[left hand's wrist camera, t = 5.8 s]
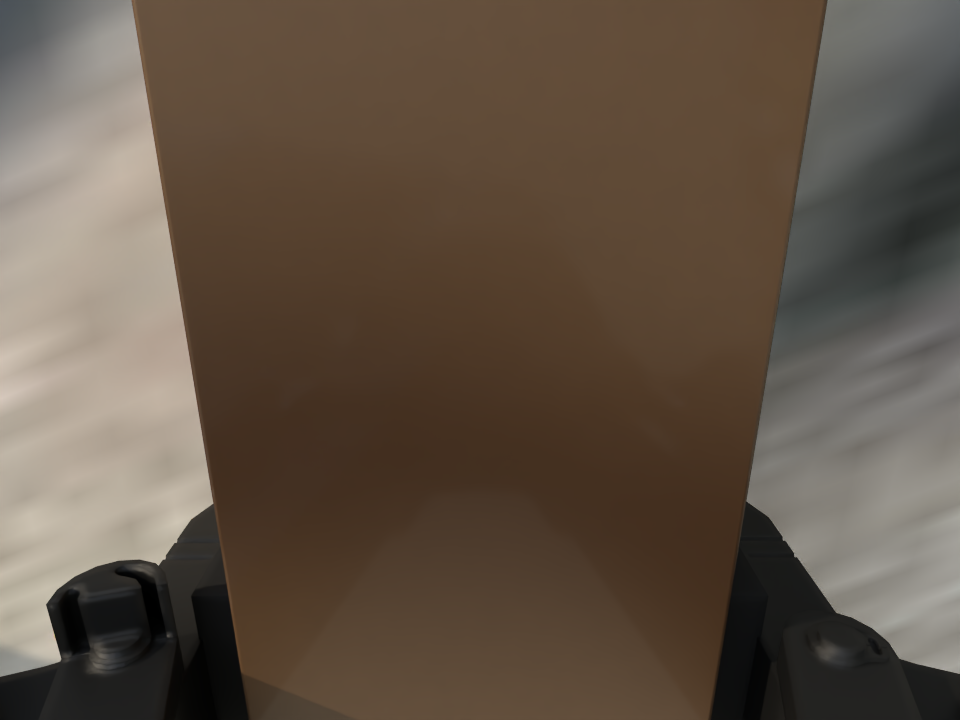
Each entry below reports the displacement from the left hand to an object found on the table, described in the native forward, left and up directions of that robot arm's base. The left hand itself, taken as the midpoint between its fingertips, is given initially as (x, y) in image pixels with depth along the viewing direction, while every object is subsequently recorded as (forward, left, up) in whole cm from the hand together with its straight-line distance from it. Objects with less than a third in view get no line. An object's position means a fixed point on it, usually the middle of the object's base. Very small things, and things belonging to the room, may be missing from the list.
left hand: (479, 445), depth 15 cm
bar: (+9, +26, -1) cm, 28 cm away
